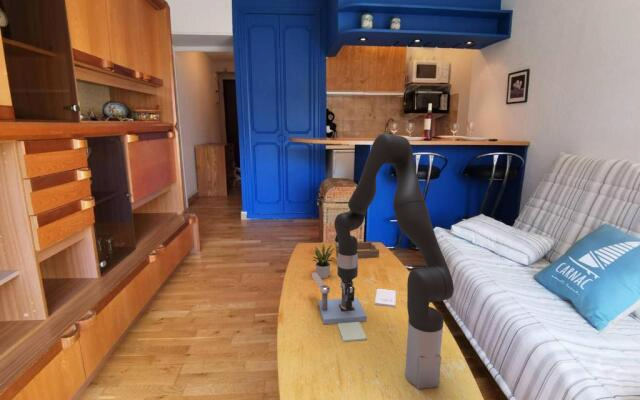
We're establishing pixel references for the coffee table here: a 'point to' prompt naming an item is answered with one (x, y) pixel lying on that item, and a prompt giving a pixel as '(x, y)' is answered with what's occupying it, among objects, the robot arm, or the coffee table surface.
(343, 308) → the plug
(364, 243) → the coaster tray
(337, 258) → the coffee cup
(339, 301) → the plate
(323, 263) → the house plant
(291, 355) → the coffee table surface
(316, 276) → the clip
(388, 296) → the external hard drive
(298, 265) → the coffee table surface
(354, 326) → the pad
